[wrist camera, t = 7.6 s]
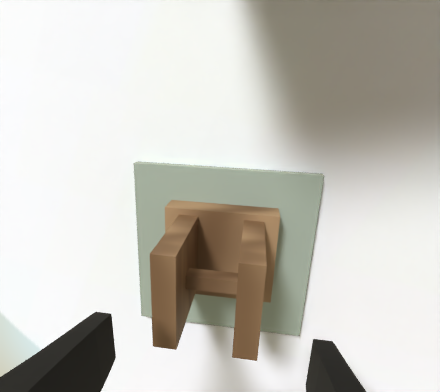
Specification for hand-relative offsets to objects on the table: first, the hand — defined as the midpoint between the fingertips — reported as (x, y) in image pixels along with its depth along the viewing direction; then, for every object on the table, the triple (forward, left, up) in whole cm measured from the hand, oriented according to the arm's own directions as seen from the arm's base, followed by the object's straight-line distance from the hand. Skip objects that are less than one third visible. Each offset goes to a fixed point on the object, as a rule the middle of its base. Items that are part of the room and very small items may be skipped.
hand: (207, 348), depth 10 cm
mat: (+1, +2, -10) cm, 10 cm away
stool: (+1, +1, -10) cm, 10 cm away
